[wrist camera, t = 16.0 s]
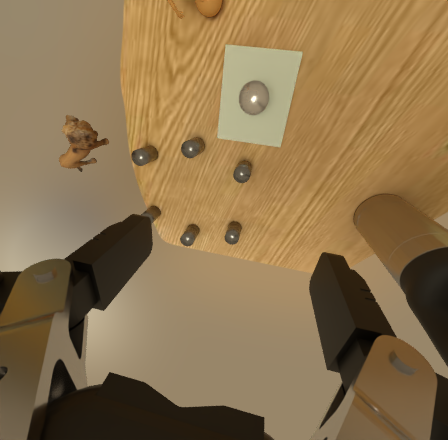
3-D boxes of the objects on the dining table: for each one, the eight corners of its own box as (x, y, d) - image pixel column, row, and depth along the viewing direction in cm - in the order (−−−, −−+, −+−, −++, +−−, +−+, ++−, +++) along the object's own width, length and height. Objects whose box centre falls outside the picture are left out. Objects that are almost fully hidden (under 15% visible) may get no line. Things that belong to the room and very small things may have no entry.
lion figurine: (94, 110, 42) (55, 110, 34) (117, 128, 43) (83, 133, 35) (73, 163, 49) (37, 174, 41) (93, 178, 50) (60, 191, 42)
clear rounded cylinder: (271, 86, 34) (272, 82, 29) (266, 115, 36) (265, 116, 31) (245, 83, 35) (241, 78, 30) (241, 112, 37) (236, 113, 32)
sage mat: (302, 52, 32) (302, 51, 32) (280, 146, 39) (280, 147, 38) (226, 45, 33) (225, 44, 33) (217, 137, 40) (217, 138, 40)
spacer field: (255, 146, 40) (254, 150, 35) (238, 243, 51) (235, 256, 46) (143, 129, 42) (129, 131, 38) (150, 225, 53) (139, 236, 49)
